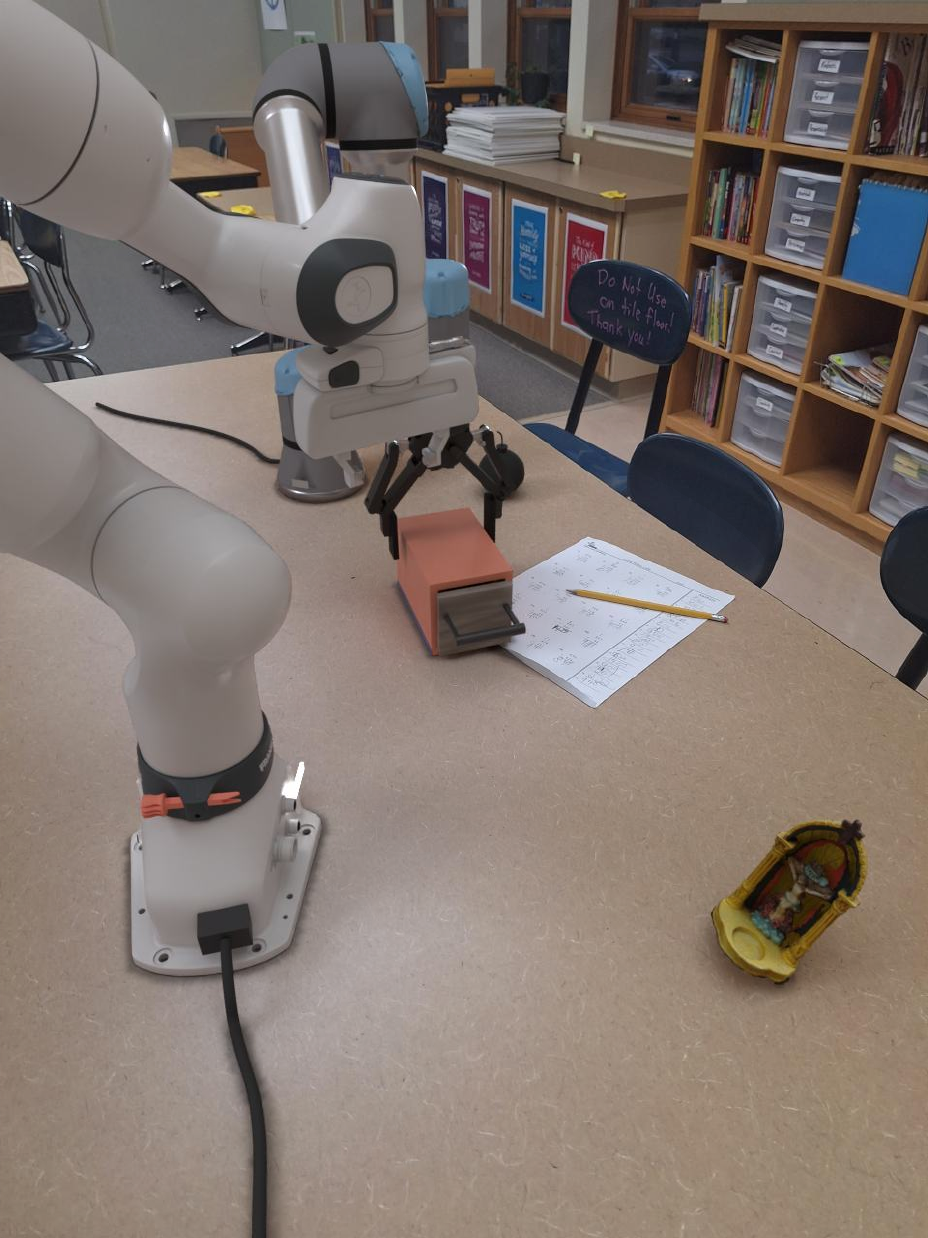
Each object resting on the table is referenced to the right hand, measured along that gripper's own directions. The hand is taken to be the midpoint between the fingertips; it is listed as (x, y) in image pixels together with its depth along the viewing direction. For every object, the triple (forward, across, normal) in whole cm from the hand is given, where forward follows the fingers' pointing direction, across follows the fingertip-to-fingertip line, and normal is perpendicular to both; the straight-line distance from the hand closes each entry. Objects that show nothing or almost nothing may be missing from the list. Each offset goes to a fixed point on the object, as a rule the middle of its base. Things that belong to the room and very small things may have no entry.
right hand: (442, 547), depth 118 cm
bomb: (+8, -19, -27) cm, 34 cm away
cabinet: (+8, 0, +4) cm, 9 cm away
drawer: (+7, 0, +9) cm, 12 cm away
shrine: (+9, -11, +63) cm, 64 cm away
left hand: (-18, +9, +13) cm, 24 cm away
